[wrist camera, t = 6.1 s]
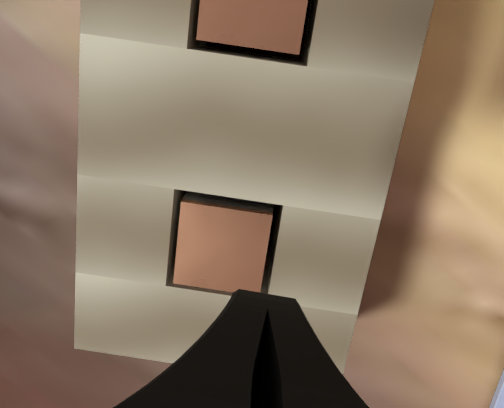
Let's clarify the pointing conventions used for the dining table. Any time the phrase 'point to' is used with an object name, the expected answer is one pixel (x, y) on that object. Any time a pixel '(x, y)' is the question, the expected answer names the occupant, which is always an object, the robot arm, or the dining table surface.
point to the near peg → (253, 23)
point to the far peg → (222, 242)
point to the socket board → (233, 162)
